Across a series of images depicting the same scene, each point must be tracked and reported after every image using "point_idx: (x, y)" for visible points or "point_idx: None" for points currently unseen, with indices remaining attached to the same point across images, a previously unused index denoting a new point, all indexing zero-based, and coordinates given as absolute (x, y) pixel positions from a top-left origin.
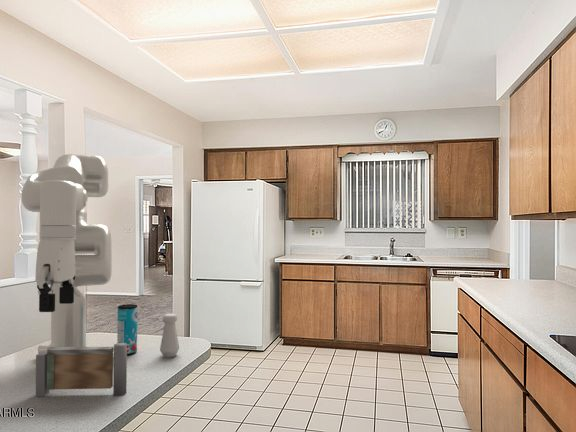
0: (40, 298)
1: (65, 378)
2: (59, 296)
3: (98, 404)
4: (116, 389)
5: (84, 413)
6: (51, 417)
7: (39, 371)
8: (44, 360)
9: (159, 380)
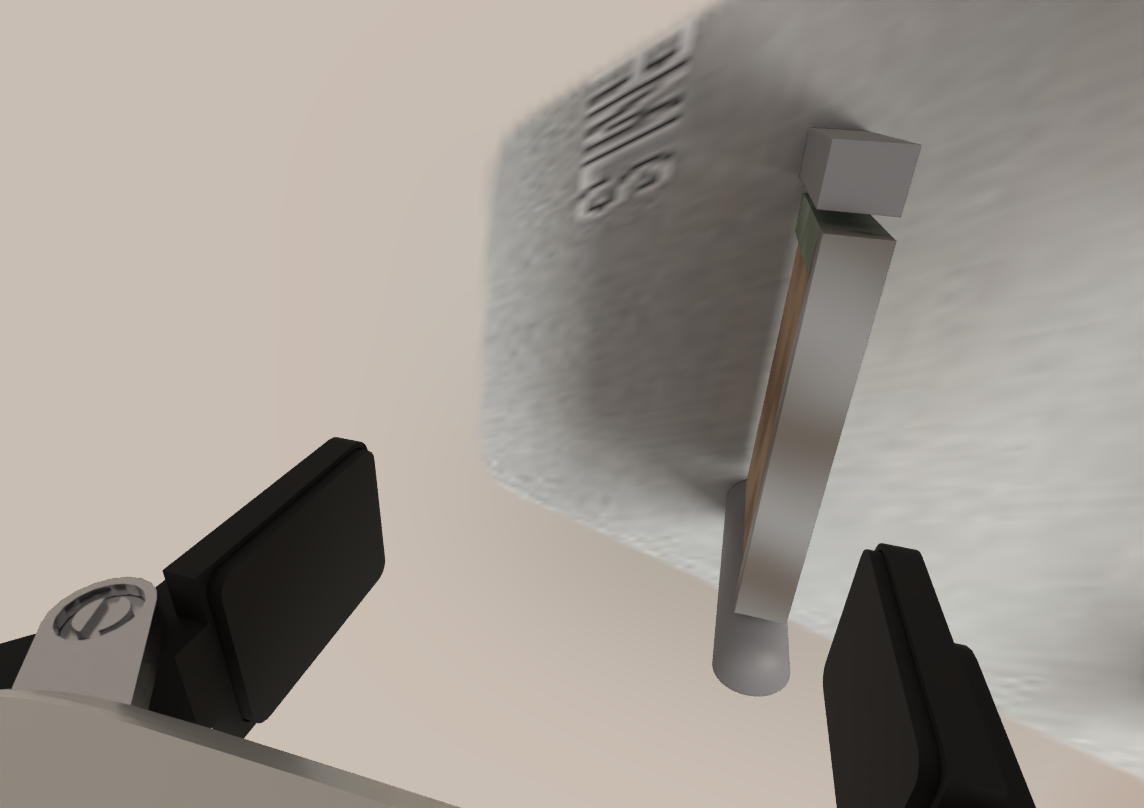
0: (220, 541)
1: (790, 306)
2: (908, 614)
3: (655, 439)
4: (727, 507)
5: (581, 405)
6: (560, 295)
7: (815, 159)
8: (813, 202)
9: None
